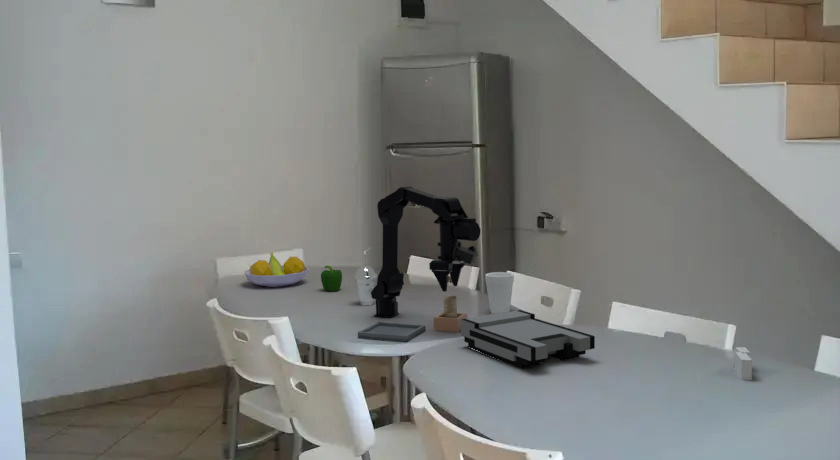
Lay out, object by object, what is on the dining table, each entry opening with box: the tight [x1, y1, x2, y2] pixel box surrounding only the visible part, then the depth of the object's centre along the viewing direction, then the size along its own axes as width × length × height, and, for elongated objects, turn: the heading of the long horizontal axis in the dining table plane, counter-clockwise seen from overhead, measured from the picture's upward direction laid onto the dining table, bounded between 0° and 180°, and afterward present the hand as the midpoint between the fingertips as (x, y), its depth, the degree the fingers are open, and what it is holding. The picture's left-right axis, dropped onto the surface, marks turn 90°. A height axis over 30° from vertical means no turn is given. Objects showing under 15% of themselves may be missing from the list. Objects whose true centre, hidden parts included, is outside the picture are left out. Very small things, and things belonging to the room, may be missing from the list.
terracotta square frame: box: [433, 311, 468, 333], centre depth 250 cm, size 8×8×4 cm
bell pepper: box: [320, 265, 343, 292], centre depth 317 cm, size 8×8×10 cm
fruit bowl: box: [243, 252, 310, 288], centre depth 335 cm, size 28×27×11 cm
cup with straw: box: [353, 246, 378, 306], centre depth 289 cm, size 8×9×20 cm
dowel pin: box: [443, 294, 458, 318], centre depth 250 cm, size 4×4×10 cm
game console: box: [460, 309, 596, 370], centre depth 219 cm, size 21×32×8 cm, turn 30°
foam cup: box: [484, 271, 515, 315], centre depth 270 cm, size 10×9×13 cm
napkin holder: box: [734, 346, 753, 381], centre depth 198 cm, size 15×11×6 cm
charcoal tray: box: [357, 321, 426, 343], centre depth 244 cm, size 16×14×2 cm
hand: (450, 288), depth 249 cm, fingers open, 9 cm apart
